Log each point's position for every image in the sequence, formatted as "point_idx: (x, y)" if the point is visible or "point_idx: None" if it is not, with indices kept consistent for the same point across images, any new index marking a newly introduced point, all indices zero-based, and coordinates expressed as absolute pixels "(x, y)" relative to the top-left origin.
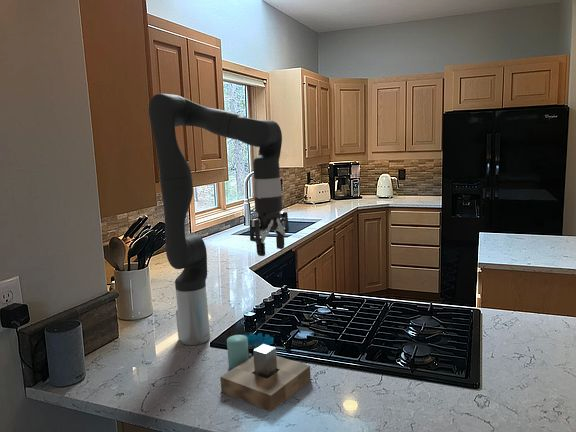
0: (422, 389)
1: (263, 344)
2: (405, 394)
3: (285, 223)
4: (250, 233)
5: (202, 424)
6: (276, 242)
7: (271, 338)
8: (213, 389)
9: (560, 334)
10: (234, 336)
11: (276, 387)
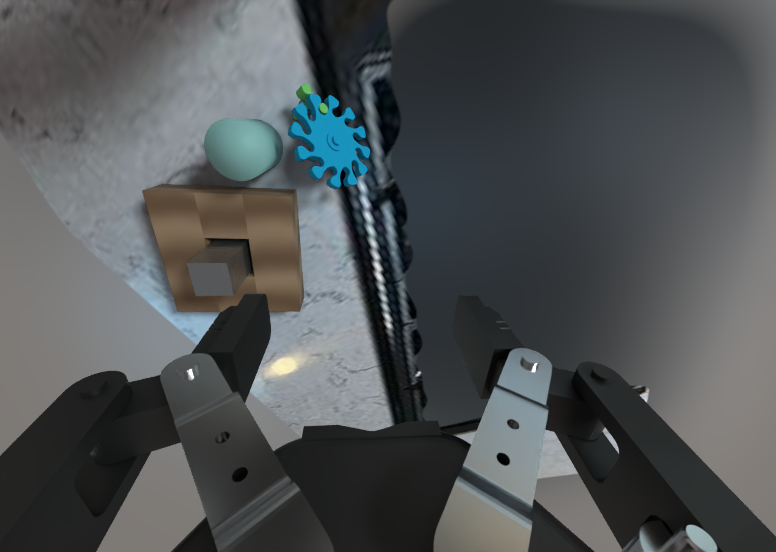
0: (368, 410)
1: (224, 265)
2: (346, 401)
3: (600, 505)
4: (3, 464)
5: (73, 227)
6: (474, 313)
7: (346, 185)
8: (154, 161)
9: (567, 468)
10: (242, 130)
11: (202, 305)
